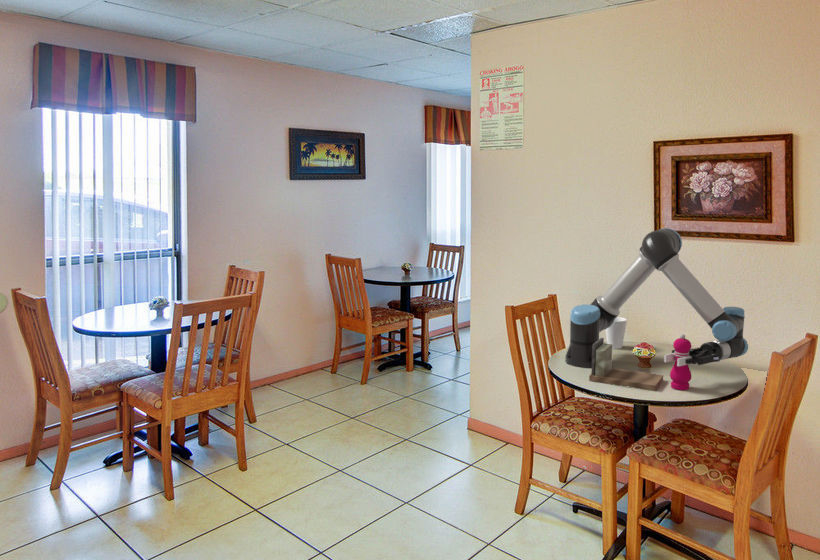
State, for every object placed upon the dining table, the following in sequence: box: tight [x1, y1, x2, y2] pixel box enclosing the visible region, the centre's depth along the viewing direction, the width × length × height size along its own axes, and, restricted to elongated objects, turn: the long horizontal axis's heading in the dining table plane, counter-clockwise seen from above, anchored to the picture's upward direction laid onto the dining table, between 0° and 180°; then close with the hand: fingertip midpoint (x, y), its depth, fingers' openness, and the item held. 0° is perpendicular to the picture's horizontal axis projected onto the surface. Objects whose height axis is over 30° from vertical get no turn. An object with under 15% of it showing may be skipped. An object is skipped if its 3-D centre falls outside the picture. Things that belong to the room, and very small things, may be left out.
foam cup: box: [605, 316, 628, 350], centre depth 287 cm, size 10×9×13 cm
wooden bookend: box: [588, 337, 664, 392], centre depth 240 cm, size 24×14×14 cm, turn 58°
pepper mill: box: [669, 333, 692, 391], centre depth 231 cm, size 7×7×20 cm
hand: (671, 360), depth 228 cm, fingers closed on pepper mill, 5 cm apart
